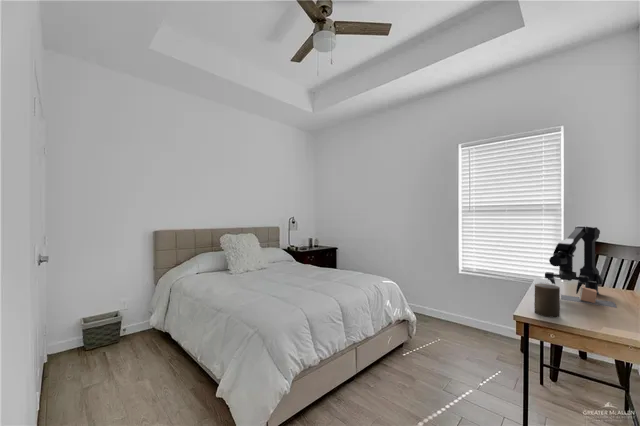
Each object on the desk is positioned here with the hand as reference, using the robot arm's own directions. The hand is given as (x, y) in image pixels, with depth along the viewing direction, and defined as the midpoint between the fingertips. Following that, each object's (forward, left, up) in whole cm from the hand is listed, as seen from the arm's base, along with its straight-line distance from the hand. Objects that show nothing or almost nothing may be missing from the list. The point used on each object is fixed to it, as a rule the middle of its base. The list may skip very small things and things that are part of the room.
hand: (565, 292), depth 164 cm
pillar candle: (+37, -7, -4) cm, 38 cm away
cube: (0, +6, +1) cm, 6 cm away
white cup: (+15, -8, -4) cm, 17 cm away
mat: (0, +9, -4) cm, 9 cm away
